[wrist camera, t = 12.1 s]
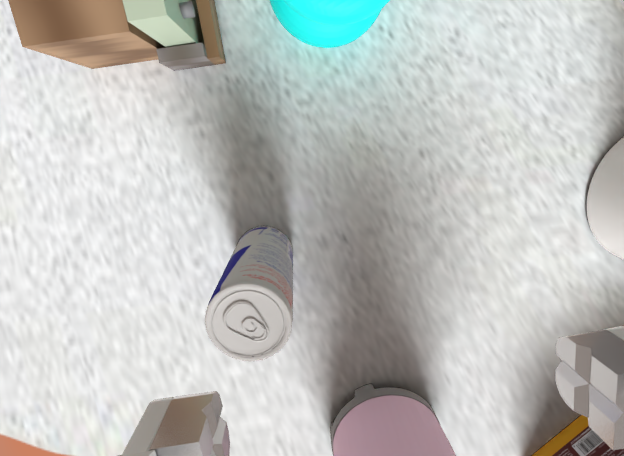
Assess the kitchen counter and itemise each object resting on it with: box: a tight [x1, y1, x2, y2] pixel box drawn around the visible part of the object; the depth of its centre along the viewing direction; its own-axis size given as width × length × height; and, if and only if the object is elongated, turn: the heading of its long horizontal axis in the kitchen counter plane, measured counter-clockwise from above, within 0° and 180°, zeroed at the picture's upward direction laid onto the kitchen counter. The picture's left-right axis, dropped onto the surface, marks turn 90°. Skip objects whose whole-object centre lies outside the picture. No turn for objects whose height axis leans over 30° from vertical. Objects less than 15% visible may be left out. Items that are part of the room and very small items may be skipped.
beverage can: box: [205, 226, 293, 361], centre depth 31 cm, size 6×6×15 cm
